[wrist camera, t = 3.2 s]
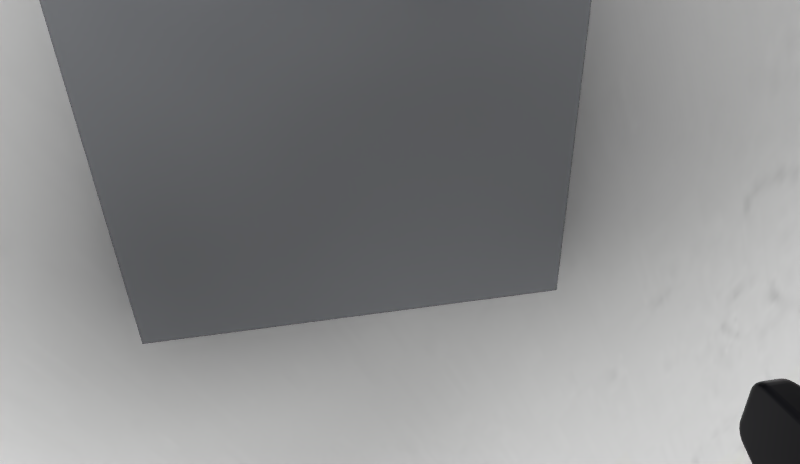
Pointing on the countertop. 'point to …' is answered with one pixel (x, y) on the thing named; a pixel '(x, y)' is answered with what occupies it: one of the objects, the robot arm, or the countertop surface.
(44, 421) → the countertop surface
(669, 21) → the countertop surface
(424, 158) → the slate pad
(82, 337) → the countertop surface
